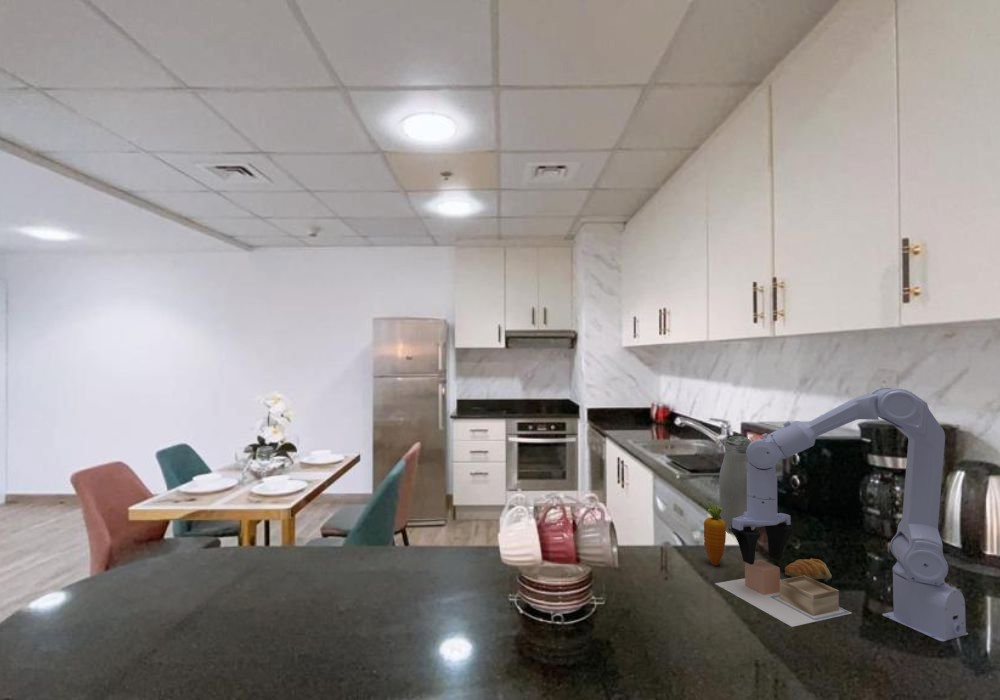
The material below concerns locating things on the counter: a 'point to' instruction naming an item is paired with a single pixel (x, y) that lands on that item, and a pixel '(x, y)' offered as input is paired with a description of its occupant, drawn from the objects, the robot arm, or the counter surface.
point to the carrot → (714, 535)
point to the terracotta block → (762, 577)
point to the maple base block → (809, 595)
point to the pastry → (808, 569)
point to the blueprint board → (776, 604)
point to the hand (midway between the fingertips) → (761, 560)
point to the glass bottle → (734, 479)
